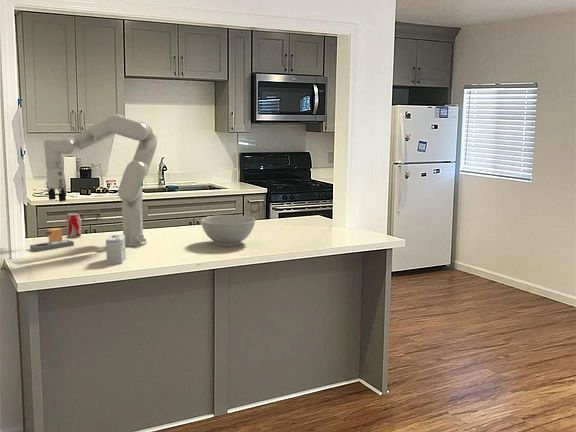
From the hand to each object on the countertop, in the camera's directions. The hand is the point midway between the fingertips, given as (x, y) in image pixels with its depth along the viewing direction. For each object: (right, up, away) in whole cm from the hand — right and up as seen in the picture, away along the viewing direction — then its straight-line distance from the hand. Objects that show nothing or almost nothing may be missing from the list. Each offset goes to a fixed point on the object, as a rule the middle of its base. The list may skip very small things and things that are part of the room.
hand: (57, 200), depth 314 cm
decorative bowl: (+82, -21, +7) cm, 85 cm away
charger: (-1, -22, +2) cm, 22 cm away
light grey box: (+36, -28, -29) cm, 54 cm away
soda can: (+1, -19, +22) cm, 29 cm away
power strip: (+1, -24, -9) cm, 26 cm away
